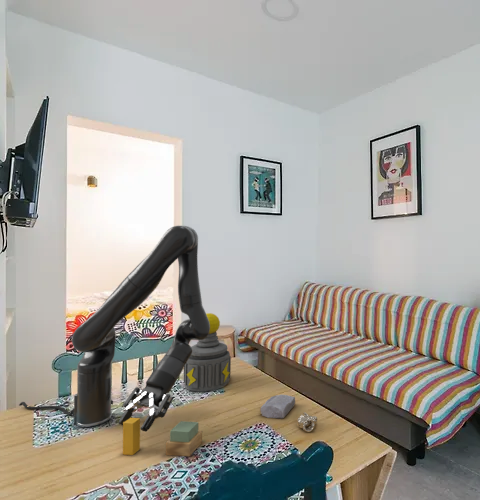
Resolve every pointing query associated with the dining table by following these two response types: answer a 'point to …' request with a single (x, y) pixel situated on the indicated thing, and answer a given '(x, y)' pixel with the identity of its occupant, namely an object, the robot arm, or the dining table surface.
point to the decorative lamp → (208, 362)
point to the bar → (131, 436)
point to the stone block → (277, 406)
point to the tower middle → (184, 431)
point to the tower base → (184, 446)
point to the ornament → (306, 422)
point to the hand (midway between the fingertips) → (132, 427)
